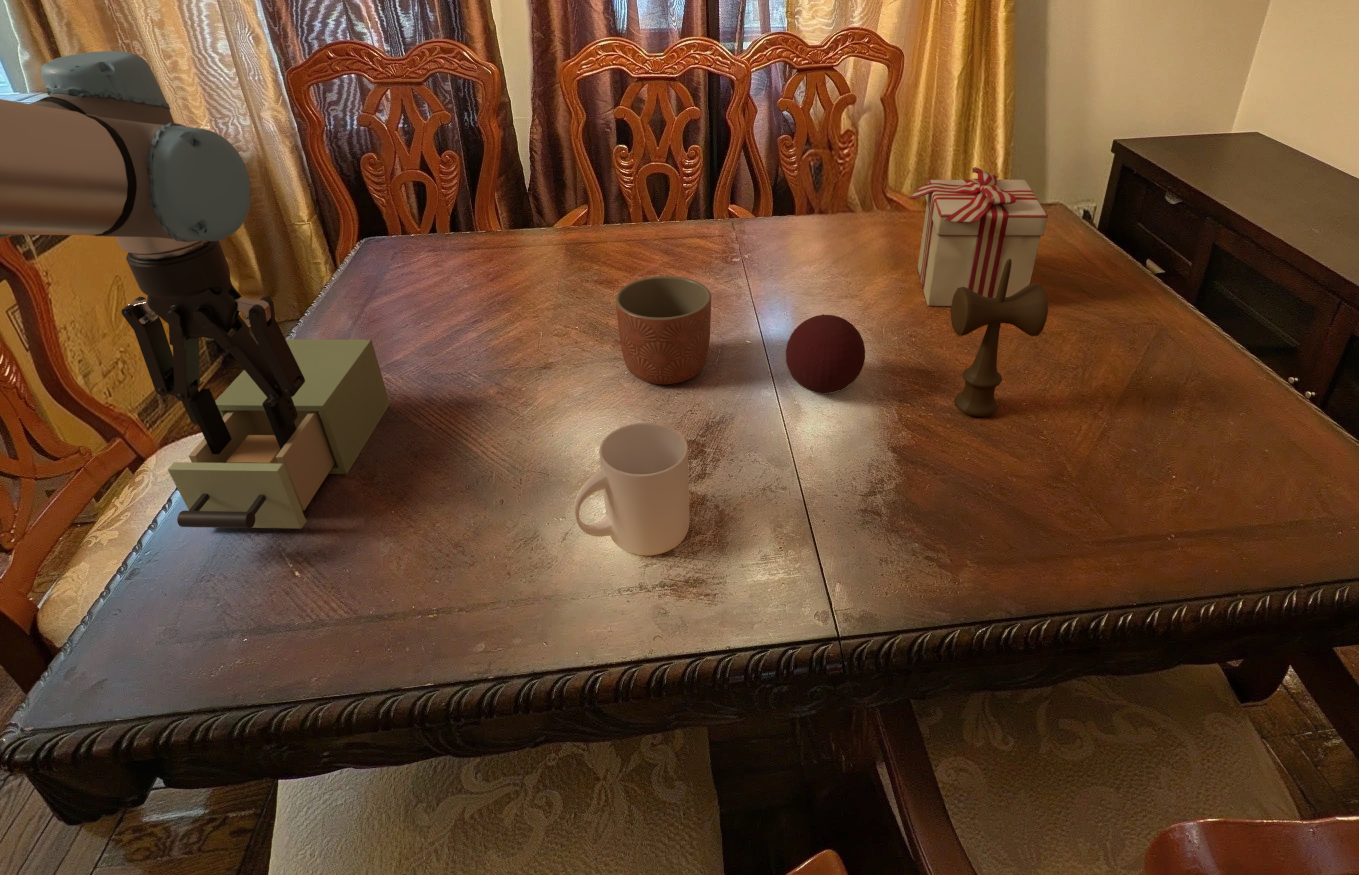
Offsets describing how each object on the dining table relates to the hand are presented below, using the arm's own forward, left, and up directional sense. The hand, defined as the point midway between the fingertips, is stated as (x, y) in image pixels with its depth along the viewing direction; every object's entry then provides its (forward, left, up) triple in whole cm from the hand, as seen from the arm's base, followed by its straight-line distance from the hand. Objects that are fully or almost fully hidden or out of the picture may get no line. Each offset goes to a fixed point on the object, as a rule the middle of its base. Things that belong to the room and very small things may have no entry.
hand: (256, 446), depth 85 cm
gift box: (+101, -3, -7) cm, 102 cm away
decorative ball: (+65, -14, -7) cm, 67 cm away
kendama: (+78, -28, -7) cm, 84 cm away
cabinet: (+6, +10, -7) cm, 13 cm away
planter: (+50, +1, -7) cm, 51 cm away
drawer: (-1, -1, -6) cm, 6 cm away
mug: (+31, -26, -7) cm, 42 cm away
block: (0, 0, -5) cm, 5 cm away
